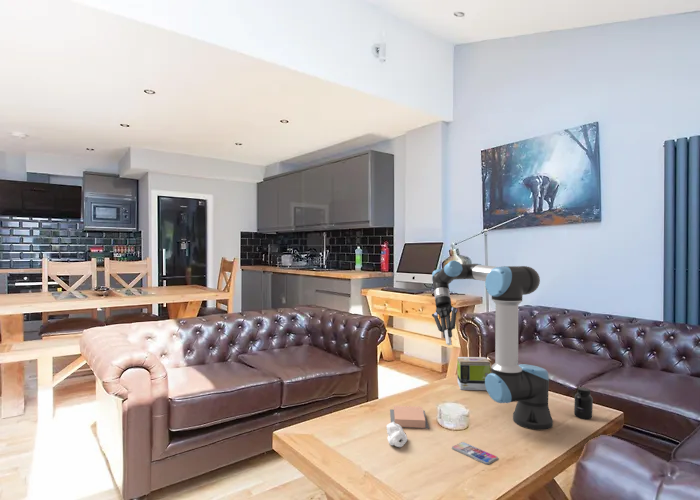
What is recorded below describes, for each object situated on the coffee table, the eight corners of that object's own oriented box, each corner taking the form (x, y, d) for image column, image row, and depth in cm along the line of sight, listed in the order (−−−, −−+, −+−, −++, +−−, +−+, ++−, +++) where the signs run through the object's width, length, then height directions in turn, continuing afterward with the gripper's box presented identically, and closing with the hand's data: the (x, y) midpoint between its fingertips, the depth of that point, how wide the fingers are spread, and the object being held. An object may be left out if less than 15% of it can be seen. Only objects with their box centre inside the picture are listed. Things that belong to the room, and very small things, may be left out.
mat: (389, 410, 186) (389, 409, 186) (424, 411, 185) (424, 410, 185) (391, 428, 168) (391, 427, 168) (429, 430, 167) (429, 428, 167)
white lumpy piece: (399, 453, 149) (385, 432, 151) (386, 451, 160) (373, 431, 161) (416, 437, 153) (403, 416, 155) (402, 436, 164) (390, 417, 165)
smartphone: (462, 441, 157) (499, 456, 145) (462, 443, 157) (499, 459, 145) (450, 446, 152) (487, 463, 140) (450, 449, 152) (487, 466, 140)
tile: (393, 405, 182) (394, 419, 168) (421, 406, 181) (425, 420, 167) (393, 413, 182) (394, 427, 168) (421, 414, 181) (425, 428, 167)
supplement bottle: (575, 418, 179) (575, 390, 179) (573, 412, 185) (573, 385, 185) (593, 421, 176) (594, 392, 176) (591, 414, 183) (591, 387, 183)
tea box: (486, 384, 222) (486, 356, 221) (490, 391, 212) (490, 361, 211) (456, 383, 223) (457, 355, 223) (460, 390, 213) (460, 361, 213)
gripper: (458, 297, 207) (465, 343, 194) (434, 305, 214) (440, 349, 201) (451, 291, 202) (458, 338, 189) (427, 299, 209) (432, 345, 196)
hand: (448, 344), depth 195 cm, fingers closed
